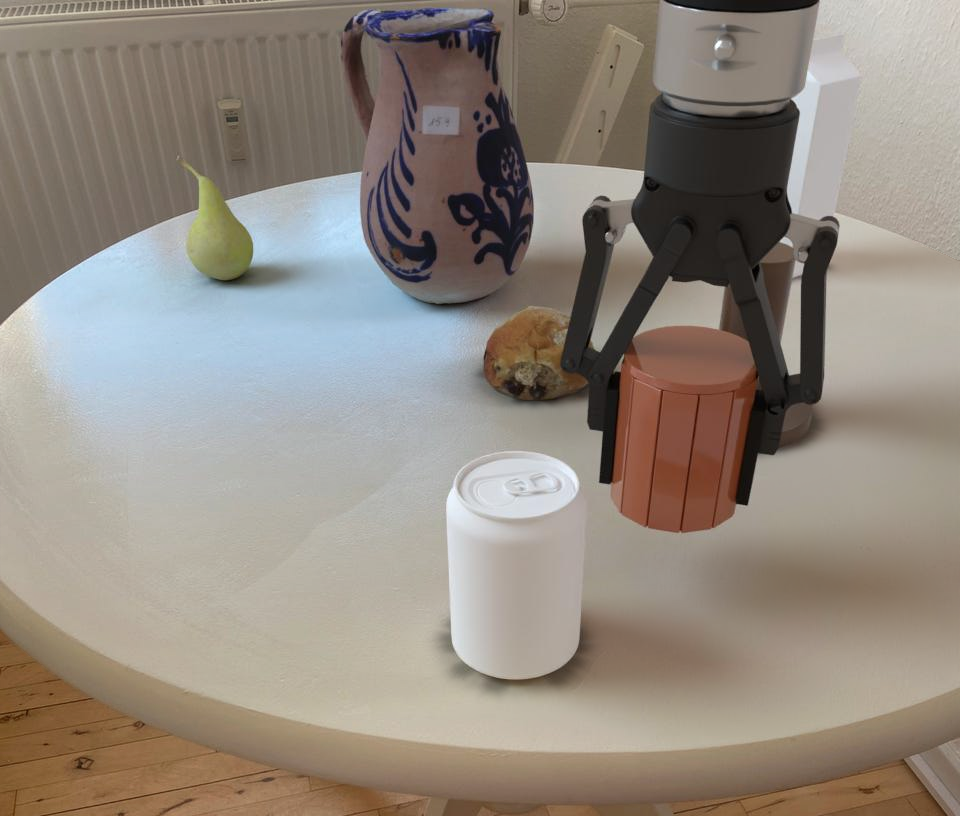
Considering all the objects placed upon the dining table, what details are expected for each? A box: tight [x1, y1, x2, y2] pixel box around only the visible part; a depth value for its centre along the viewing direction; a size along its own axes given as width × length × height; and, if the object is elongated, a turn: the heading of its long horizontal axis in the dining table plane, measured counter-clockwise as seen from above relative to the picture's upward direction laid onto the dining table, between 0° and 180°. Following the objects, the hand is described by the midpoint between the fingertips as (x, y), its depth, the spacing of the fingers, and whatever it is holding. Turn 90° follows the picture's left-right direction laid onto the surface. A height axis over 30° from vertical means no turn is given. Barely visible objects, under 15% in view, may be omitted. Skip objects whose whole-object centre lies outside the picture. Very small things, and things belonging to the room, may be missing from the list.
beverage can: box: [445, 450, 588, 680], centre depth 64 cm, size 8×8×12 cm
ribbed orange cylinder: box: [609, 325, 759, 534], centre depth 66 cm, size 8×8×10 cm
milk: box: [779, 33, 863, 279], centre depth 108 cm, size 6×6×22 cm
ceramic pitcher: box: [340, 6, 535, 305], centre depth 104 cm, size 18×21×25 cm
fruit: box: [176, 155, 254, 281], centre depth 111 cm, size 7×8×12 cm
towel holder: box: [718, 242, 814, 448], centre depth 85 cm, size 12×12×14 cm
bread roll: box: [483, 305, 596, 401], centre depth 94 cm, size 10×10×8 cm
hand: (675, 482), depth 68 cm, fingers closed on ribbed orange cylinder, 8 cm apart
